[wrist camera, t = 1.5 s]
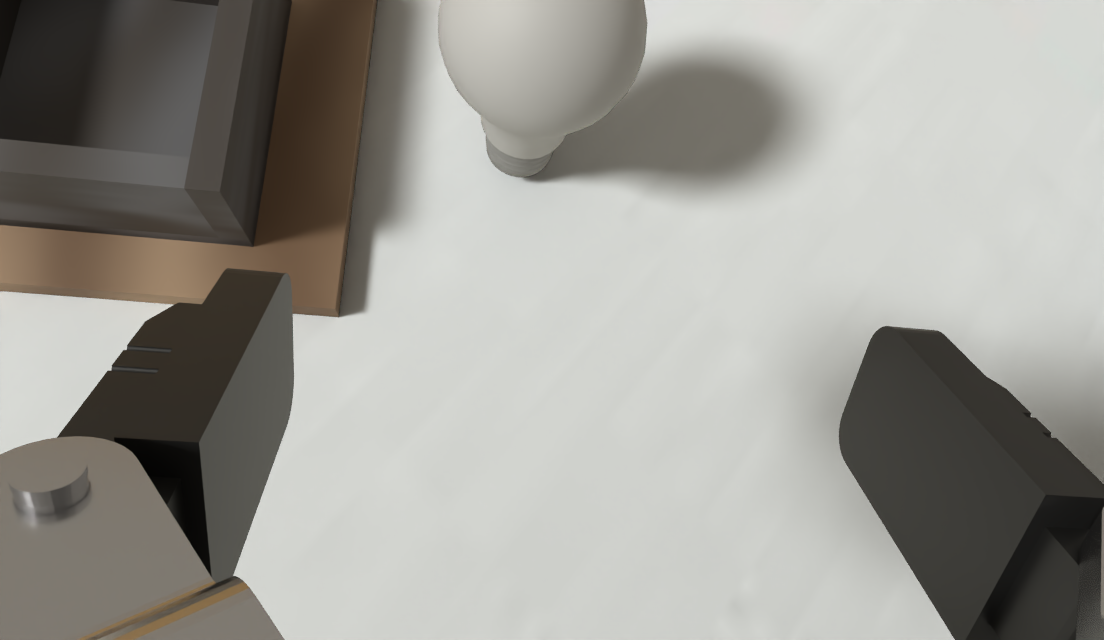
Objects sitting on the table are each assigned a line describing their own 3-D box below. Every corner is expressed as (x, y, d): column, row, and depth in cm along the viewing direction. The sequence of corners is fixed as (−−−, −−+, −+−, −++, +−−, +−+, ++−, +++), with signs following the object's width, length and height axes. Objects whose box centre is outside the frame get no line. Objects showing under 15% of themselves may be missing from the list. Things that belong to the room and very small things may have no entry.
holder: (379, -15, 32) (367, -124, 27) (338, 316, 28) (316, 265, 23) (-48, -69, 30) (-150, -197, 25) (-155, 279, 27) (-301, 212, 21)
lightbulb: (608, 219, 31) (695, 51, 20) (450, 239, 30) (458, 72, 19) (577, 80, 32) (645, -142, 22) (427, 94, 31) (422, -133, 21)
